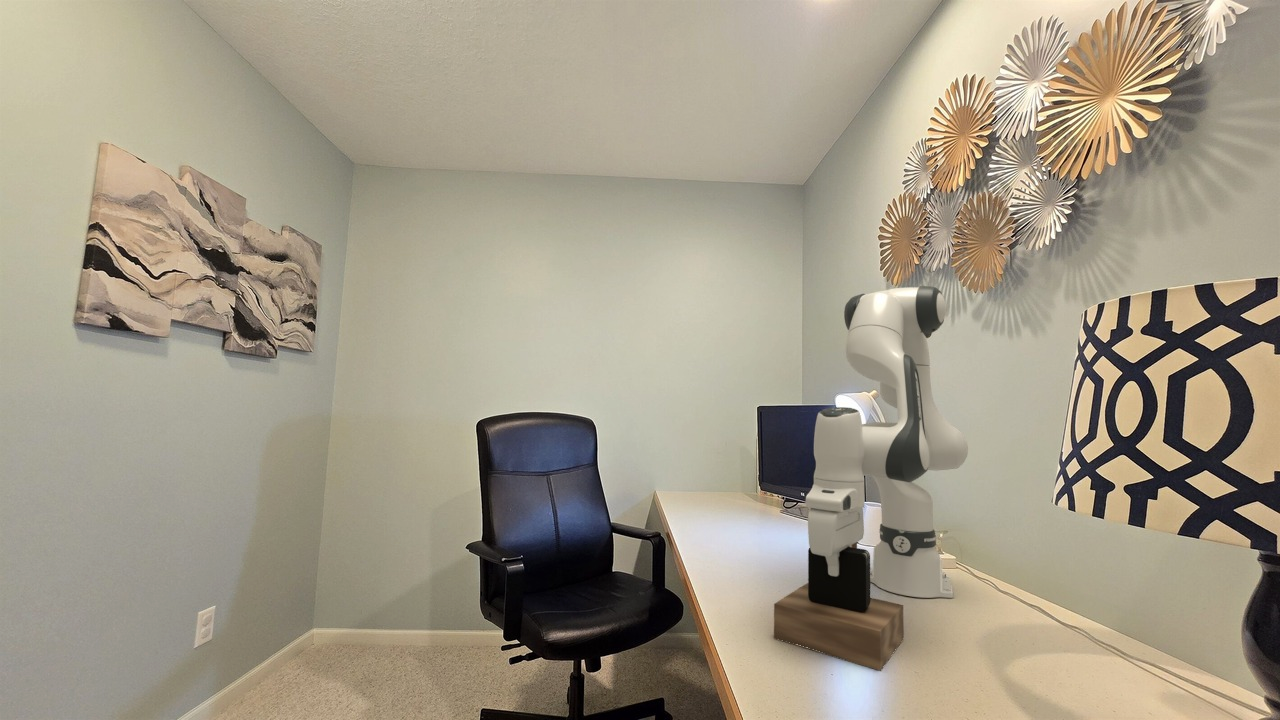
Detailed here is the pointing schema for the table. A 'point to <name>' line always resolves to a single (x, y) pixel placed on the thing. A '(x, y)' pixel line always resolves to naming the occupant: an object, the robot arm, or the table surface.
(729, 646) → the table surface
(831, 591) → the electronic device
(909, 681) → the table surface
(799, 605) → the walnut box
